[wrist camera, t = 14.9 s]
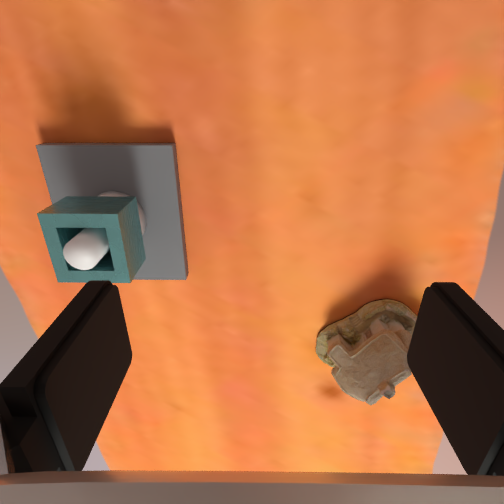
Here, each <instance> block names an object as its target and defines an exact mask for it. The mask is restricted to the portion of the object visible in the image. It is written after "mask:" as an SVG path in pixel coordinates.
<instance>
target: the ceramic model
mask: <svg viewBox="0 0 504 504" xmlns="http://www.w3.org/2000/svg"><path fill="white" fill-rule="evenodd" d="M416 320H417V315H416V314H415V313H413V312H412V311H411V310H410V309H409V308H408V307H407V306H406V305H404V304H403V303H401V302H398V301H395V300H389V299H384V300H379V301H373V302H370V303H368V304H366V305H364V306H363V307H362V308H360V309H359V310H358V311H357V312H356V313H354V314H352V315H350V316H348V317H346V318H344V319H343V320H340V321H338V322H336V323H333V324H331V325H329V326H327V327H326V328H325V329H324V330H322V331H321V332H320V334H319V335H318V337H317V346H316V353H317V355H318V357H319V358H320V359H321V360H322V361H323V362H324V363H326V364H328V365H329V366H331V367H334V368H333V369H332V375H333V377H334V378H335V380H336V382H337V383H338V385H339V386H340V388H341V389H342V391H344V392H345V393H346V394H348V395H350V396H351V397H353V398H355V399H357V400H360V401H363V402H364V401H365V402H366V403H368V404H370V405H372V404H374V403H376V402H377V401H378V400H379V399H380V398H381V397H382V396H385V397H387V398H388V399H390V398H391V397H393V396H394V395H395V386H396V385H398V384H399V383H400V382H402V381H403V380H405V379H406V378H407V377H409V376H410V375H411V370H410V368H409V366H408V363H407V352H408V349H409V345H410V341H411V338H412V334H413V331H414V327H415V323H416Z"/></svg>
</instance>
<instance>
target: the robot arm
mask: <svg viewBox="0 0 504 504" xmlns="http://www.w3.org/2000/svg"><path fill="white" fill-rule="evenodd" d="M131 360H132V350H131V346H130V341H129V336H128V332H127V327H126V322H125V318H124V313H123V309H122V304H121V299H120V295H119V290H118V287H117V286H116V285H112V283H111V281H109V280H91V281H88V282H87V283H86V284H85V286H84V287H83V288H82V289H81V290H80V291H79V293H78V294H77V295H76V296H75V297H74V298H73V300H72V301H71V302H70V303H69V304H68V305H67V307H66V308H65V309H64V310H63V311H62V312H61V314H60V315H59V316H58V317H57V318H56V320H55V321H54V322H53V323H52V324H51V325H50V327H49V328H48V329H47V330H46V331H45V332H44V334H43V335H42V336H41V337H40V338H39V339H38V341H37V342H36V343H35V344H34V345H33V347H32V348H31V349H30V350H29V351H28V352H27V353H26V355H25V356H24V357H23V358H22V359H21V360H20V362H19V363H18V364H17V365H16V366H15V367H14V369H13V370H12V371H11V372H10V373H9V375H8V376H7V377H6V378H5V379H4V380H3V382H2V383H1V384H0V504H504V330H503V329H502V328H501V327H500V326H499V325H498V324H497V323H496V322H495V321H494V320H493V319H492V318H491V317H490V316H489V315H488V314H487V313H486V312H485V311H484V310H483V309H482V308H481V307H480V306H479V305H478V304H477V303H476V302H475V301H474V300H473V299H472V298H471V297H470V296H469V295H468V294H467V293H466V292H465V291H464V290H463V289H462V288H461V287H460V286H459V285H458V284H456V283H453V282H434V283H432V285H431V286H430V287H427V288H426V289H425V291H424V294H423V298H422V302H421V305H420V309H419V313H418V316H417V320H416V323H415V327H414V331H413V334H412V338H411V341H410V345H409V349H408V352H407V363H408V366H409V368H410V370H411V372H412V373H413V375H414V377H415V379H416V381H417V383H418V385H419V386H420V388H421V390H422V392H423V394H424V396H425V397H426V399H427V401H428V403H429V405H430V407H431V409H432V410H433V412H434V414H435V416H436V418H437V420H438V422H439V423H440V425H441V427H442V429H443V431H444V433H445V434H446V436H447V438H448V440H449V442H450V444H451V446H452V447H453V449H454V451H455V453H456V455H457V457H458V458H459V460H460V462H461V464H462V466H463V468H464V470H465V471H466V473H467V474H468V475H452V474H396V473H332V472H248V471H82V469H83V468H84V466H85V463H86V461H87V459H88V457H89V455H90V452H91V450H92V448H93V446H94V443H95V441H96V439H97V437H98V435H99V433H100V430H101V428H102V426H103V424H104V421H105V419H106V417H107V415H108V413H109V410H110V408H111V406H112V404H113V401H114V399H115V397H116V395H117V393H118V390H119V388H120V386H121V384H122V382H123V379H124V377H125V375H126V373H127V370H128V368H129V366H130V364H131Z"/></svg>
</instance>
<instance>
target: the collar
mask: <svg viewBox="0 0 504 504" xmlns="http://www.w3.org/2000/svg"><path fill="white" fill-rule="evenodd" d="M37 215H38V218H39V221H40V225H41V228H42V231H43V235H44V238H45V241H46V244H47V248H48V251H49V254H50V257H51V261H52V264H53V267H54V271H55V274H56V277H57V280H58V282H86V283H87V282H88V281H91V280H109V281H111V283H131V281H132V280H133V278H134V277H135V275H136V273H137V272H138V270H139V269H140V267H141V266H142V264H143V262H144V261H145V259H146V255H145V249H144V243H143V237H142V230H141V224H140V218H139V212H138V205H137V199H136V197H112V196H66V197H64V198H63V199H61V200H59V201H58V202H56V203H54V204H52V205H51V206H49V207H47V208H46V209H44V210H42V211H41V212H39V213H37ZM84 228H106V233H107V238H108V242H109V247H110V249H109V251H108V252H107V253H106V254H105V255H104V256H103V257H102V258H101V259H100V261H99V262H98V263H97V264H96V265H95V266H94V267H93V268H91V269H89V270H80V269H77V268H74V267H73V266H71V265H70V264H69V263H68V262H67V261H66V259H65V258H64V255H63V248H64V246H65V245H66V243H68V242H69V241H70V240H71V239H72V238H74V237H75V236H76V235H77V234H78V233H80V232H81V231H82V230H83V229H84Z"/></svg>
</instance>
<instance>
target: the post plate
mask: <svg viewBox="0 0 504 504" xmlns="http://www.w3.org/2000/svg"><path fill="white" fill-rule="evenodd" d="M36 148H37V151H38V155H39V158H40V162H41V166H42V169H43V173H44V176H45V180H46V183H47V187H48V190H49V194H50V197H51V201H52V204H54V203H56V202H58V201H59V200H61V199H63V198H64V197H66V196H112V197H136V199H137V205H138V212H139V218H140V224H141V230H142V237H143V243H144V249H145V255H146V259H145V261H144V262H143V264H142V266H141V267H140V269H139V270H138V272H137V273H136V275H135V277H134V278H133V279H144V280H186V279H187V276H188V264H187V254H186V244H185V234H184V224H183V214H182V204H181V194H180V184H179V174H178V164H177V154H176V145H175V143H42V144H38V145H36ZM109 249H110V247H109V242H108V238H107V233H106V228H84V229H83V230H82V231H81V232H80V233H78V234H77V235H76V236H75V237H74V238H72V239H71V240H70V241H69V242H68V243H66V245H65V246H64V248H63V255H64V258H65V259H66V261H67V262H68V263H69V264H70V265H71V266H73V267H74V268H77V269H80V270H89V269H91V268H93V267H94V266H95V265H96V264H97V263H98V262H99V261H100V259H101V258H102V257H103V256H104V255H105V254H106V253H107V252H108V251H109Z"/></svg>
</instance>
